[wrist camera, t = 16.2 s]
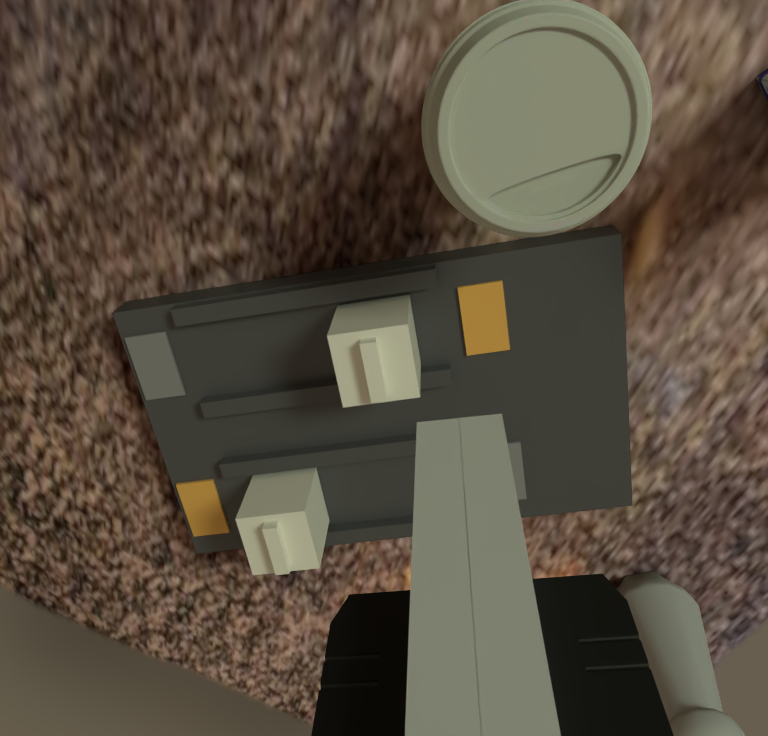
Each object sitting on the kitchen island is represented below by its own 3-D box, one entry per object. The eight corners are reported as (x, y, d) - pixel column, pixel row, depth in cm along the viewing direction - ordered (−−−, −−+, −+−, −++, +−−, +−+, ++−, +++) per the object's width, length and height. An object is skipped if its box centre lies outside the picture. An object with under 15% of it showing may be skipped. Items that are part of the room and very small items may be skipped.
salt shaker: (643, 546, 46) (718, 715, 35) (705, 588, 48) (798, 765, 36) (582, 599, 49) (633, 776, 37) (643, 638, 50) (711, 822, 38)
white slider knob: (337, 305, 38) (325, 341, 34) (409, 294, 38) (407, 329, 33) (351, 371, 40) (341, 414, 35) (420, 361, 39) (420, 403, 35)
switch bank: (126, 301, 41) (106, 318, 39) (612, 225, 38) (625, 237, 35) (205, 534, 48) (193, 561, 45) (623, 486, 45) (635, 513, 42)
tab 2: (253, 474, 43) (232, 526, 38) (316, 466, 43) (302, 518, 38) (268, 527, 45) (250, 583, 40) (329, 520, 44) (318, 576, 40)
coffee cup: (404, 169, 37) (396, 218, 26) (446, -8, 34) (457, -36, 23) (559, 207, 38) (614, 271, 27) (616, 36, 34) (706, 29, 23)
